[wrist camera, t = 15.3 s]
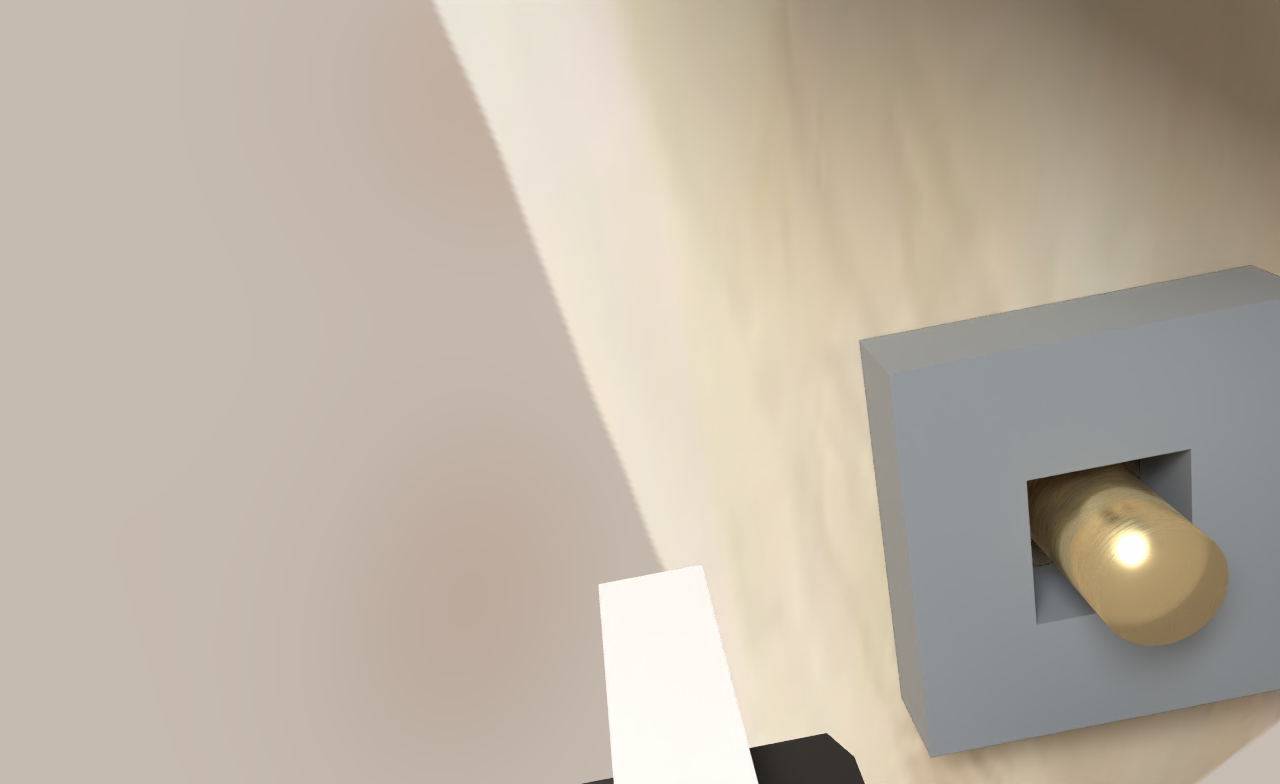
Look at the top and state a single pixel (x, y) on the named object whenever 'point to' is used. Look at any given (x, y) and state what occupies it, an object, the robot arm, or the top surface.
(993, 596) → the jig
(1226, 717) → the top surface
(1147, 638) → the gold metal cylinder
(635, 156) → the top surface
